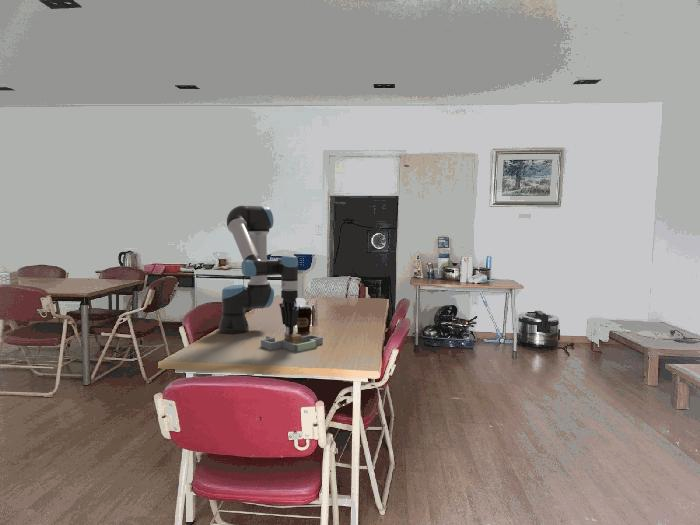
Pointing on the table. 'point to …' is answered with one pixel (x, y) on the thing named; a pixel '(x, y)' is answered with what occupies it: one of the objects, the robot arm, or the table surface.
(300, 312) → the coffee cup
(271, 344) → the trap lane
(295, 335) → the walnut block
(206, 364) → the table surface
